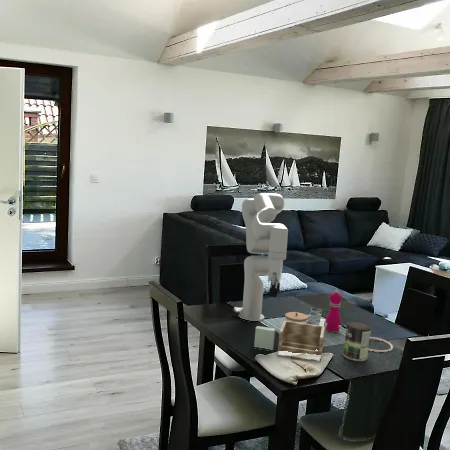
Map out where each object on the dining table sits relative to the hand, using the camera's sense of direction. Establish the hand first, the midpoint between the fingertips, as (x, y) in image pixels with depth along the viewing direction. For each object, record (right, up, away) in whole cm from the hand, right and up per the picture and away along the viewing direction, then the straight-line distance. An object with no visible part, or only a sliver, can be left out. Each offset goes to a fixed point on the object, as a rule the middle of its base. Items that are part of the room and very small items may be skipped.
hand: (274, 294), depth 237 cm
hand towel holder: (+45, -25, +14) cm, 53 cm away
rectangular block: (-4, -23, 0) cm, 24 cm away
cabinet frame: (+11, -24, -1) cm, 27 cm away
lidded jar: (+12, -21, +24) cm, 34 cm away
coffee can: (+34, -27, -2) cm, 43 cm away
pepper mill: (+31, -21, +29) cm, 47 cm away
